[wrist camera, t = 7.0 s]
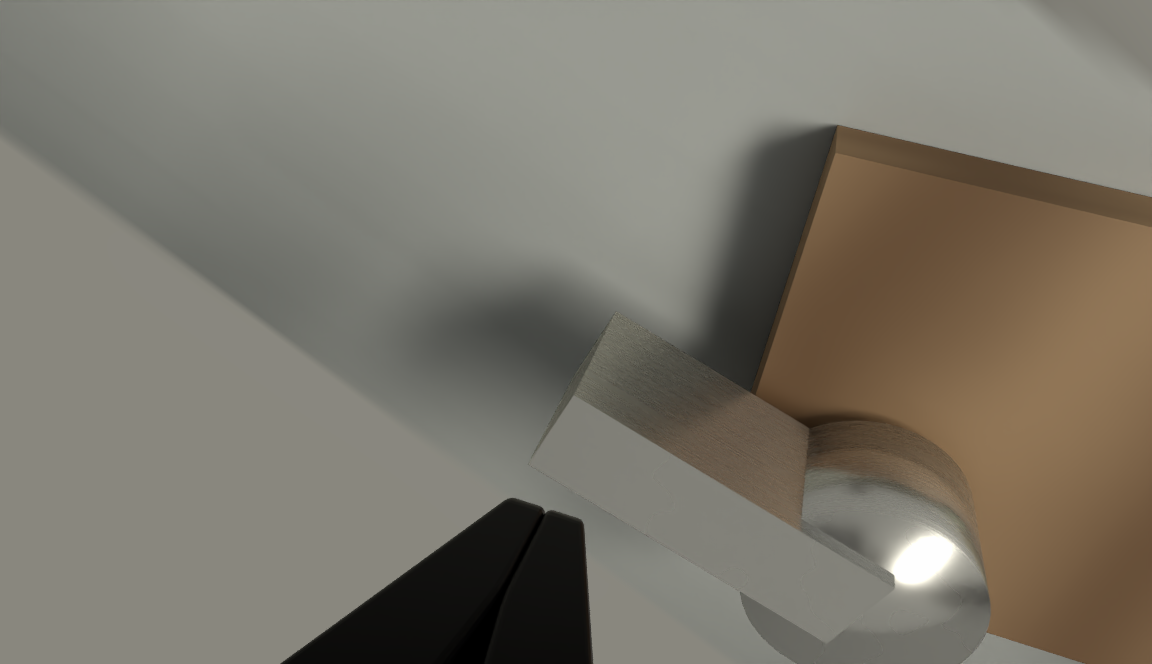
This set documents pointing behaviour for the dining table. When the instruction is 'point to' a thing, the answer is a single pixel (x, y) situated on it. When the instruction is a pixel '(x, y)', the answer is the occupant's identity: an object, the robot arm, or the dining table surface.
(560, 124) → the dining table surface
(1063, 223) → the copper base
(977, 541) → the steel lever handle
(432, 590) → the robot arm
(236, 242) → the dining table surface
